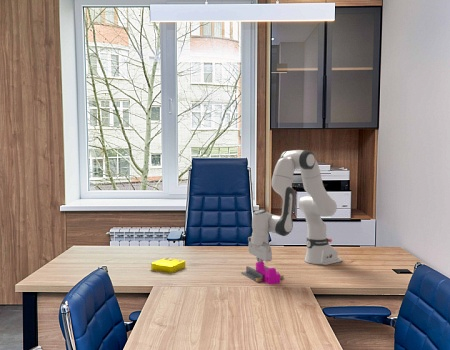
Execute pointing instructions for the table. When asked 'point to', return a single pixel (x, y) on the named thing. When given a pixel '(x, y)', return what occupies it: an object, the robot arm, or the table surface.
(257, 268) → the toy block
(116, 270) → the table surface
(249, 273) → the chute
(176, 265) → the yellow flat square slab
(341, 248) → the table surface
